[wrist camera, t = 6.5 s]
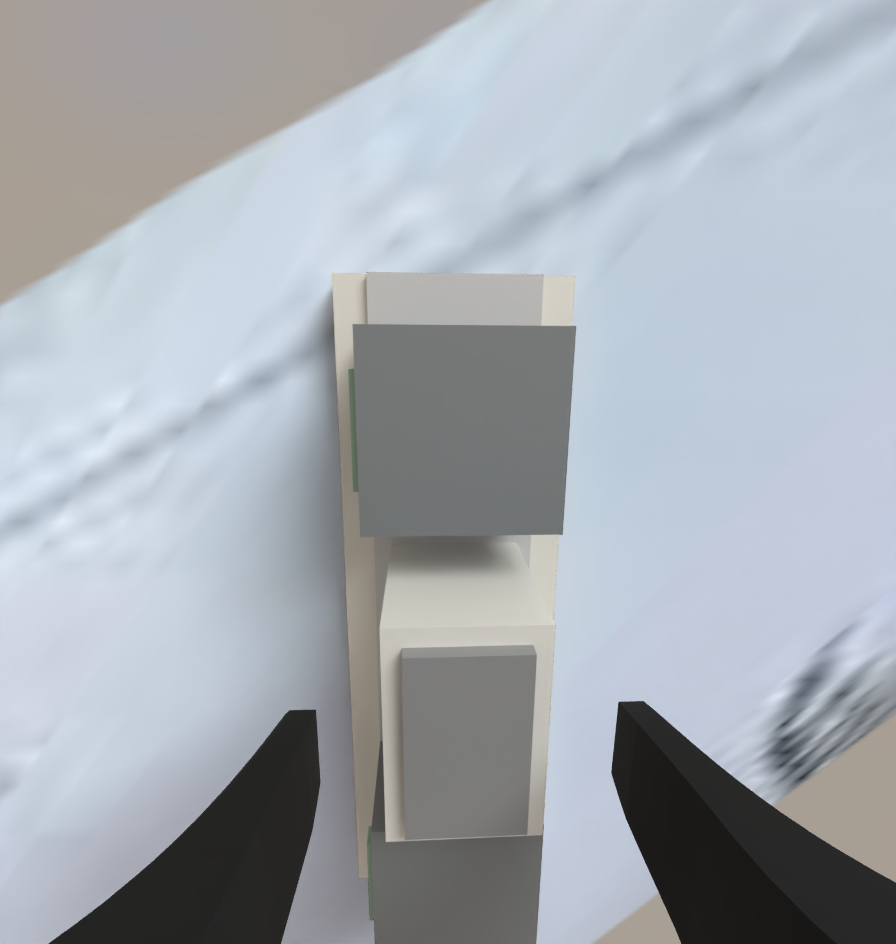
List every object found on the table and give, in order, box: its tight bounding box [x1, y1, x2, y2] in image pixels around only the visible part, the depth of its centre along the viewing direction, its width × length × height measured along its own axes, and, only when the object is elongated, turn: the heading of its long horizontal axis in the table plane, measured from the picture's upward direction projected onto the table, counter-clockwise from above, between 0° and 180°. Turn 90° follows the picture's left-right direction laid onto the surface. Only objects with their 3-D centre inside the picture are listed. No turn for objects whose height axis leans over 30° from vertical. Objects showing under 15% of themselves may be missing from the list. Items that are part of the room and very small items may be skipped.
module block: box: [379, 543, 556, 842], centre depth 15 cm, size 4×6×5 cm, turn 0°
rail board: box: [332, 272, 576, 944], centre depth 16 cm, size 7×22×5 cm, turn 0°
